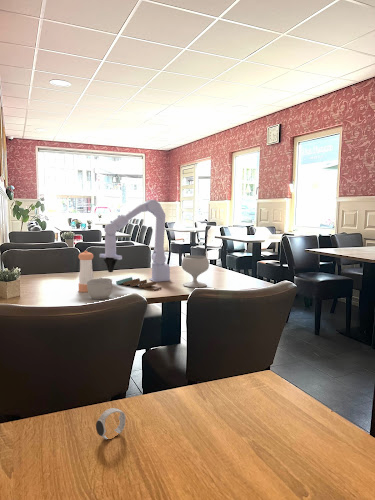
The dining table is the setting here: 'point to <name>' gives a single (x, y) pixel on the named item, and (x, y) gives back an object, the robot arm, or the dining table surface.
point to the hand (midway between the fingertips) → (110, 272)
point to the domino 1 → (124, 280)
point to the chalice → (195, 269)
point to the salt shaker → (85, 270)
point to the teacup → (99, 288)
